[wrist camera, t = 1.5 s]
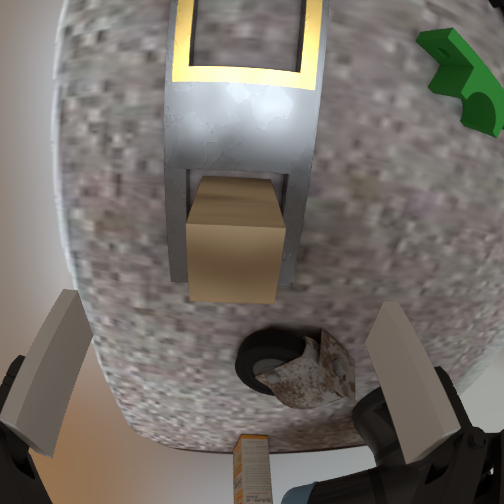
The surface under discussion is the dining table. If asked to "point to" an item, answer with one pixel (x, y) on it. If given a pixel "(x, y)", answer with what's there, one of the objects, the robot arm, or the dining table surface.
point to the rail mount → (497, 3)
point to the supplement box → (252, 471)
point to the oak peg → (234, 241)
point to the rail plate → (240, 125)
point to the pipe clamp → (465, 80)
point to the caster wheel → (297, 368)
